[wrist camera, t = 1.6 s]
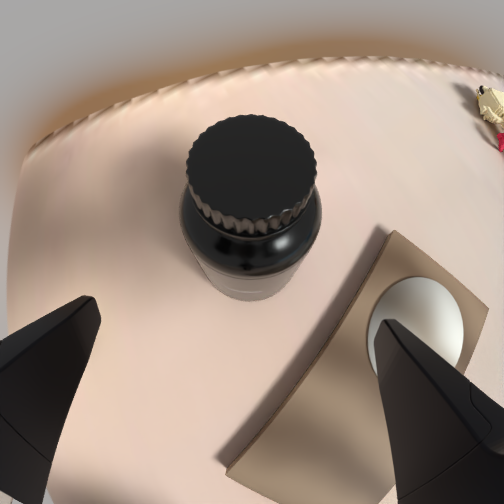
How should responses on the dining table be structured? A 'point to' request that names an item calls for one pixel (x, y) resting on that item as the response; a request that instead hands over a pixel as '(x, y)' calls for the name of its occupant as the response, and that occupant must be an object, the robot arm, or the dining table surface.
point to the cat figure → (492, 109)
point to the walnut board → (358, 386)
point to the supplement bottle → (250, 204)
